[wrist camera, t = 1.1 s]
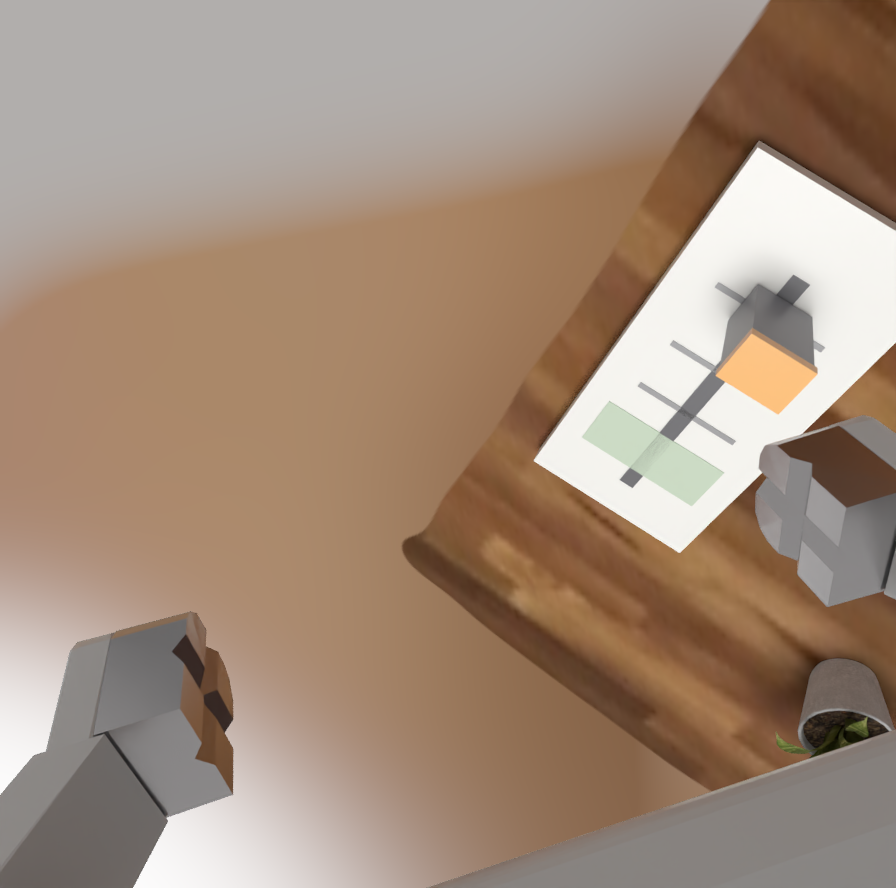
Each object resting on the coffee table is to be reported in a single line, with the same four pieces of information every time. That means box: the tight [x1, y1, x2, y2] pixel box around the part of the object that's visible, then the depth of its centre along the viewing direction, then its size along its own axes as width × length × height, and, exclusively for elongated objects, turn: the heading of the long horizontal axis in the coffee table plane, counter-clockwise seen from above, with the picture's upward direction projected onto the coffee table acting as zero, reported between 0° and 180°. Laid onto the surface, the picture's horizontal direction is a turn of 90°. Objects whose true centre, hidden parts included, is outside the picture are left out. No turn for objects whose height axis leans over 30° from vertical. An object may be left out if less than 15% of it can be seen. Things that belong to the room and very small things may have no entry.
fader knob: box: [716, 284, 818, 414], centre depth 45 cm, size 3×4×8 cm
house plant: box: [776, 658, 895, 759], centre depth 59 cm, size 14×14×16 cm
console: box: [534, 141, 896, 553], centre depth 53 cm, size 28×14×2 cm, turn 155°
